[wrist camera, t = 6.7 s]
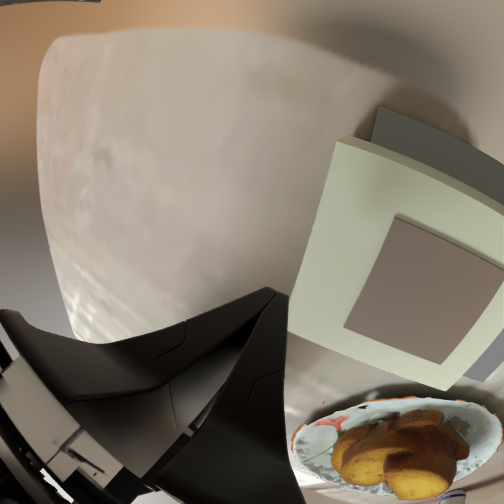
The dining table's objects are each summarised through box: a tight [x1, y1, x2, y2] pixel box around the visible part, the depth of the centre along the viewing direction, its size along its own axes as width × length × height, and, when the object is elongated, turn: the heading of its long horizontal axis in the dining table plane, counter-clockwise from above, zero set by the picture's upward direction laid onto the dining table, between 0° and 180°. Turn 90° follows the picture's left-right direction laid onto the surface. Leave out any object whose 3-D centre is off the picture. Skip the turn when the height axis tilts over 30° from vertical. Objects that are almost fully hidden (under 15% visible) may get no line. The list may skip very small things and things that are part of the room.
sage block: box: [288, 135, 504, 391], centre depth 12 cm, size 10×4×11 cm
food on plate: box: [291, 396, 504, 500], centre depth 20 cm, size 25×25×7 cm
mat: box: [370, 106, 504, 382], centre depth 13 cm, size 14×16×1 cm
